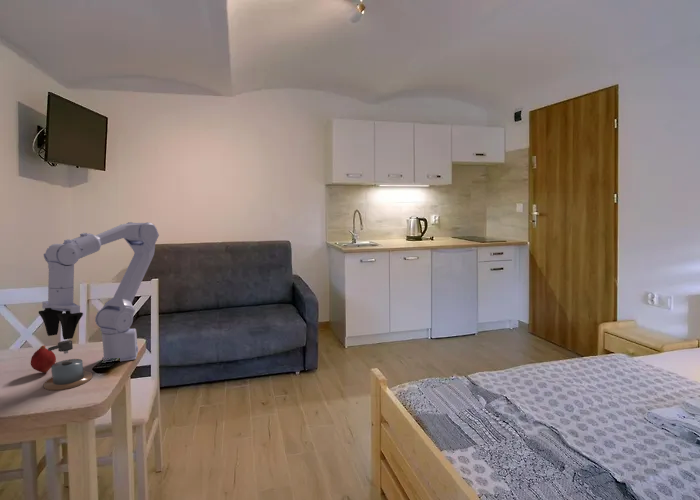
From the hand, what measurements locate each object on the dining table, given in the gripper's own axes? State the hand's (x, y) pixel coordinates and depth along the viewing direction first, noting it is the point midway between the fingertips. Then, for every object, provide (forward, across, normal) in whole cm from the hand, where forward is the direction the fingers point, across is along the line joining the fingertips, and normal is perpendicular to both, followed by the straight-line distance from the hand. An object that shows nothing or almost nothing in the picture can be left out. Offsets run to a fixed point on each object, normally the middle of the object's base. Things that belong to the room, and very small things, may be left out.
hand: (60, 337), depth 115 cm
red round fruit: (+12, -10, +1) cm, 15 cm away
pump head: (+4, +3, -1) cm, 5 cm away
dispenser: (+12, +3, +1) cm, 12 cm away
